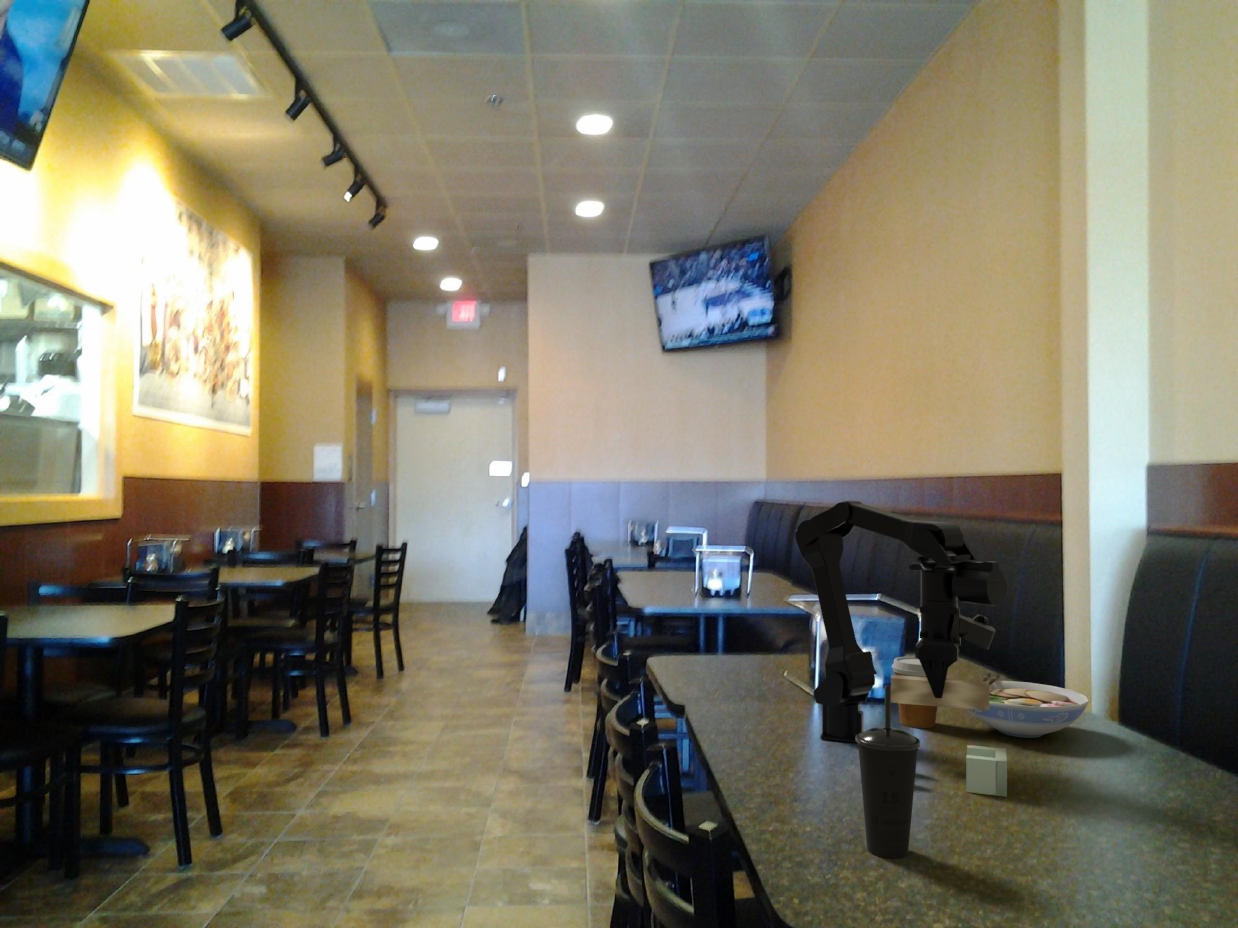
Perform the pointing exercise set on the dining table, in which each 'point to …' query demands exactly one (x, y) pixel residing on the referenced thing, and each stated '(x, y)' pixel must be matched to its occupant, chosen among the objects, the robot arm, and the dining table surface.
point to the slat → (954, 692)
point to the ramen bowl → (1029, 708)
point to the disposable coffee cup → (909, 712)
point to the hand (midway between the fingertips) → (938, 695)
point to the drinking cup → (887, 785)
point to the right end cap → (986, 770)
